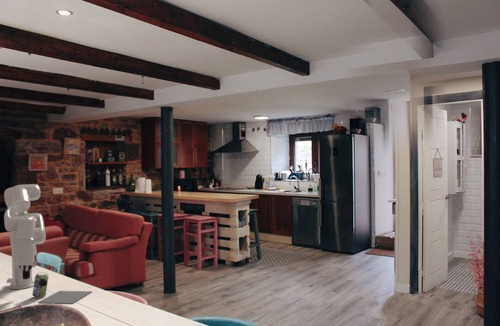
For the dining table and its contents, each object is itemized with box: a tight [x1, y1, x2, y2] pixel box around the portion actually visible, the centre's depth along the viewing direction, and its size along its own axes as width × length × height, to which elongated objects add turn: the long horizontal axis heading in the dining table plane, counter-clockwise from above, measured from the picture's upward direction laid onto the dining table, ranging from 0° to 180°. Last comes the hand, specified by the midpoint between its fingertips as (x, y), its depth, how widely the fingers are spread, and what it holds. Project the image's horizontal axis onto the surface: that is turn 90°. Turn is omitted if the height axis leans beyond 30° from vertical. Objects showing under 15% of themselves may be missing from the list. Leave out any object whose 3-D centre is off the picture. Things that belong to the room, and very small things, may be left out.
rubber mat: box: [37, 290, 93, 305], centre depth 206 cm, size 18×18×1 cm
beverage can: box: [31, 271, 49, 299], centre depth 208 cm, size 6×7×12 cm
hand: (26, 278), depth 209 cm, fingers closed
